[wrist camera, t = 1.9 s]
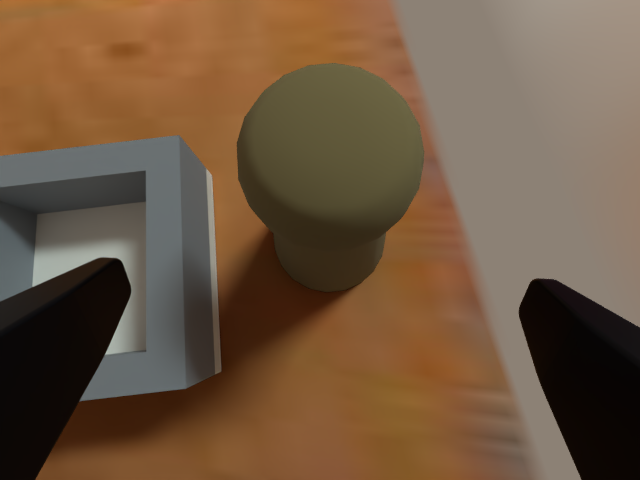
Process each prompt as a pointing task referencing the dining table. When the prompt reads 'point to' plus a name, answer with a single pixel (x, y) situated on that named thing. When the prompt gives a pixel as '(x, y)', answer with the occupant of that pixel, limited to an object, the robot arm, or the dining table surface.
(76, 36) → the dining table surface
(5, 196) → the box
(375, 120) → the cork
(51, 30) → the dining table surface
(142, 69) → the dining table surface
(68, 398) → the robot arm
